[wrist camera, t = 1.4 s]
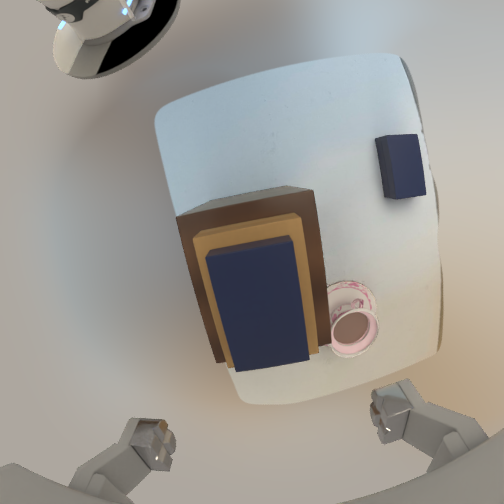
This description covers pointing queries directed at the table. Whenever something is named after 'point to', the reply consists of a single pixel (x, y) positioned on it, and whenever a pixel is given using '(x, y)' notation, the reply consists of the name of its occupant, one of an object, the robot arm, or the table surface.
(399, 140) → the navy books
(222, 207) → the book stand
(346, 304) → the teacup
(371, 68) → the table surface
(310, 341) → the tan books
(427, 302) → the table surface
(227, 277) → the navy book
